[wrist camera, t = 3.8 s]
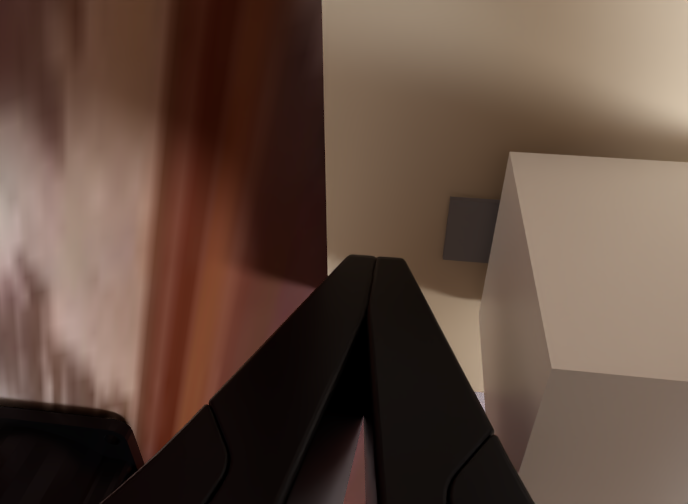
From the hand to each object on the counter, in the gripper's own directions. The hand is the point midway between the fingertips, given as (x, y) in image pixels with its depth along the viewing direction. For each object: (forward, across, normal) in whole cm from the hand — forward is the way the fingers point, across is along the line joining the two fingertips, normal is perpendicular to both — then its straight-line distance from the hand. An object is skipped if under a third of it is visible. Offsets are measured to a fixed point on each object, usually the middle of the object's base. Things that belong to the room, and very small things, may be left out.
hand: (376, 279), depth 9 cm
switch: (+1, -4, 0) cm, 4 cm away
